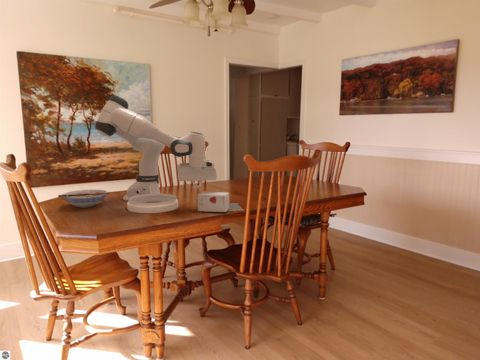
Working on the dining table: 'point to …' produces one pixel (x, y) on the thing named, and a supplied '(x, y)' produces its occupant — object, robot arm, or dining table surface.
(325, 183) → the dining table surface
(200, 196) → the supplement box
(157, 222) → the dining table surface
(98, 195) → the ramen bowl
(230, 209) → the grey flat slab
